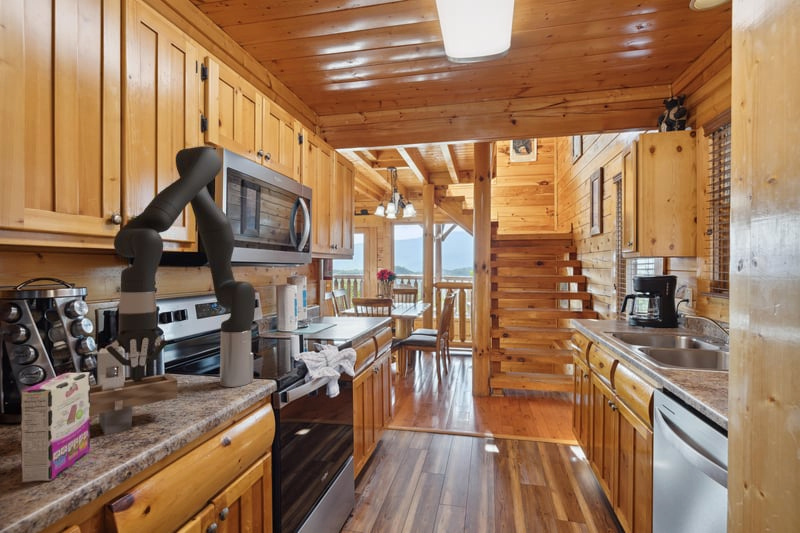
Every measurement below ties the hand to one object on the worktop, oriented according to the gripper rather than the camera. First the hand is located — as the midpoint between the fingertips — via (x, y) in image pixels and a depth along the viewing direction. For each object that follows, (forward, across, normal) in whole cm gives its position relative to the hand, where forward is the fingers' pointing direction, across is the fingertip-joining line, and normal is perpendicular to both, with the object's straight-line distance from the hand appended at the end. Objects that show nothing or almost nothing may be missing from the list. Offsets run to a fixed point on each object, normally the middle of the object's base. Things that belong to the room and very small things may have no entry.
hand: (137, 380), depth 94 cm
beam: (+10, +4, 0) cm, 11 cm away
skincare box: (+10, +2, -20) cm, 22 cm away
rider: (+3, +5, 0) cm, 6 cm away
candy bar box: (+10, +15, +15) cm, 24 cm away
